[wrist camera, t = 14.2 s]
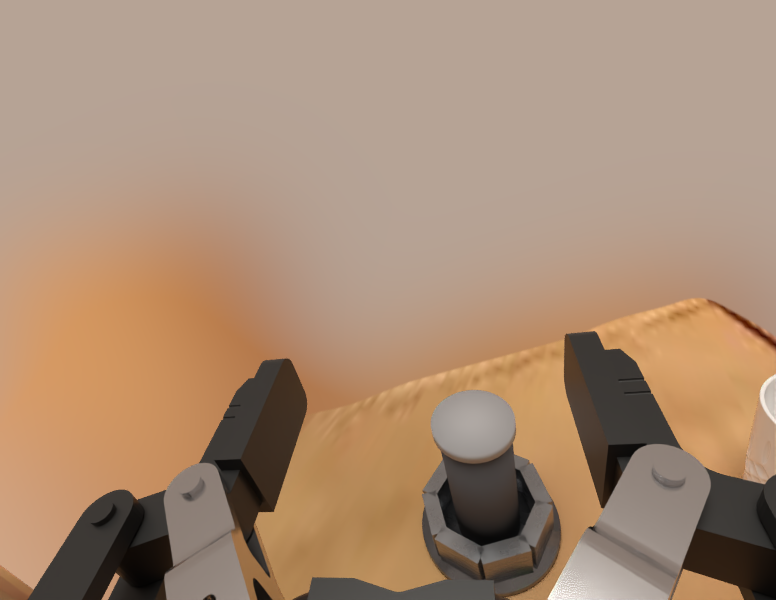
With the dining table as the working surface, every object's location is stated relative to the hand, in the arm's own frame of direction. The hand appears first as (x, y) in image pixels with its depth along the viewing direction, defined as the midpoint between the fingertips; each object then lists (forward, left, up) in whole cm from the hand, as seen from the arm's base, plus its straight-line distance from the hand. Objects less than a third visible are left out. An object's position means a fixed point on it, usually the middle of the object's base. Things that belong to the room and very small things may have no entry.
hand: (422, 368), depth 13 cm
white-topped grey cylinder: (-5, +10, -27) cm, 29 cm away
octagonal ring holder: (-6, +10, -27) cm, 30 cm away
